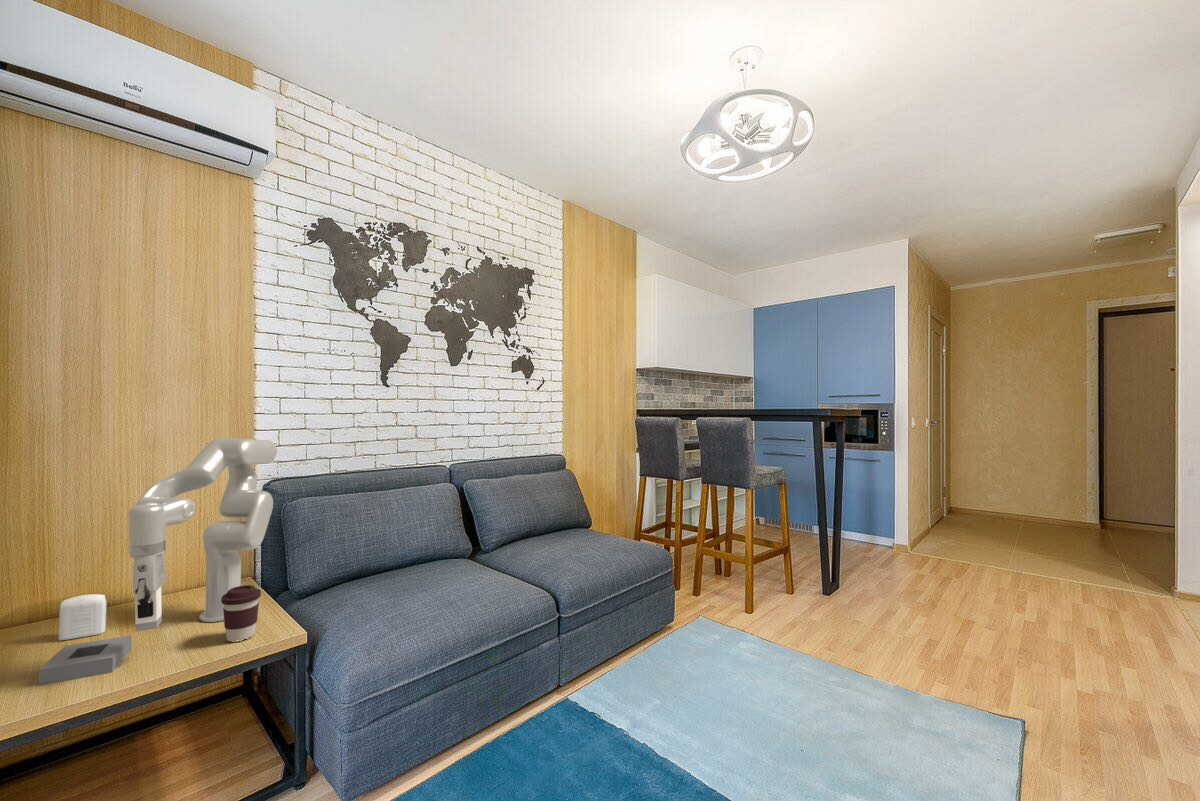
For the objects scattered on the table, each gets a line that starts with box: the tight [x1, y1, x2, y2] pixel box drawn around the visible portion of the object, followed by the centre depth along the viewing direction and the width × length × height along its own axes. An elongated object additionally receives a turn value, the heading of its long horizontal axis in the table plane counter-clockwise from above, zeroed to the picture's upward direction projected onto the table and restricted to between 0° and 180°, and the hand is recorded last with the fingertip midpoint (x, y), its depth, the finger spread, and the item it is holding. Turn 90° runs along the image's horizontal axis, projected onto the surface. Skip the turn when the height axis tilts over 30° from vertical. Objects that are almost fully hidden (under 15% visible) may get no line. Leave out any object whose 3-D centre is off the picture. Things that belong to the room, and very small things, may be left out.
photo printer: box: [58, 593, 107, 641], centre depth 155 cm, size 10×4×12 cm, turn 123°
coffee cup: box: [221, 584, 262, 642], centre depth 155 cm, size 10×10×15 cm
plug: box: [134, 585, 163, 632], centre depth 141 cm, size 4×4×12 cm
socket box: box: [38, 635, 133, 686], centre depth 138 cm, size 14×14×4 cm
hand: (148, 612), depth 141 cm, fingers closed on plug, 4 cm apart
